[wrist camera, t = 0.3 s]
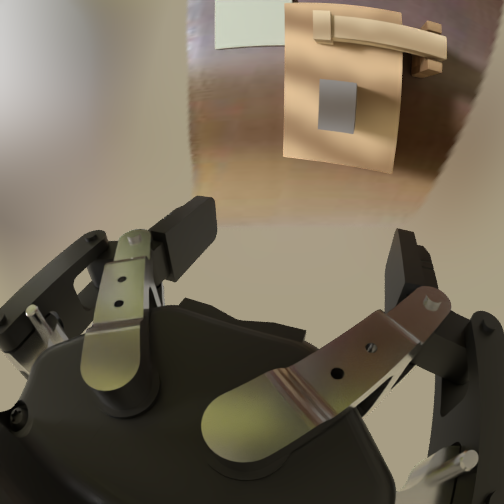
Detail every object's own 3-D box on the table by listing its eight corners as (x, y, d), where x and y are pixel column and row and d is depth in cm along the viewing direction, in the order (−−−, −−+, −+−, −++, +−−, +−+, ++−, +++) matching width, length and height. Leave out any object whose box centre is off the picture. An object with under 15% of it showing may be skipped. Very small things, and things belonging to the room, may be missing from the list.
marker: (317, 16, 20) (312, 10, 18) (440, 37, 16) (447, 32, 14) (317, 43, 21) (313, 38, 19) (440, 65, 18) (447, 62, 16)
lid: (286, 5, 21) (265, -15, 15) (400, 15, 17) (409, -6, 12) (285, 154, 31) (265, 170, 25) (391, 171, 27) (397, 192, 21)
